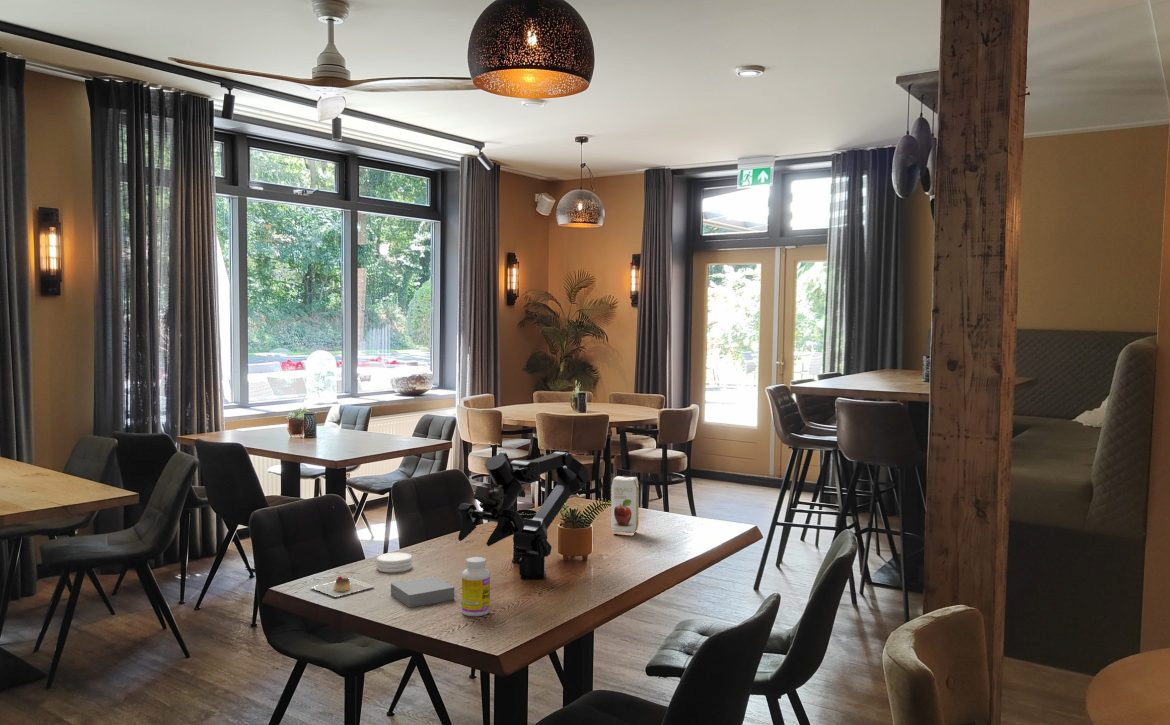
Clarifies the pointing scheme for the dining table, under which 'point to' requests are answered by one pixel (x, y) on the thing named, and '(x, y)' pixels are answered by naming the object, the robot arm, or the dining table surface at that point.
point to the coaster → (394, 562)
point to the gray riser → (422, 591)
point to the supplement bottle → (475, 588)
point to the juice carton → (624, 504)
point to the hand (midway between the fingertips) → (473, 542)
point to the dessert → (343, 585)
